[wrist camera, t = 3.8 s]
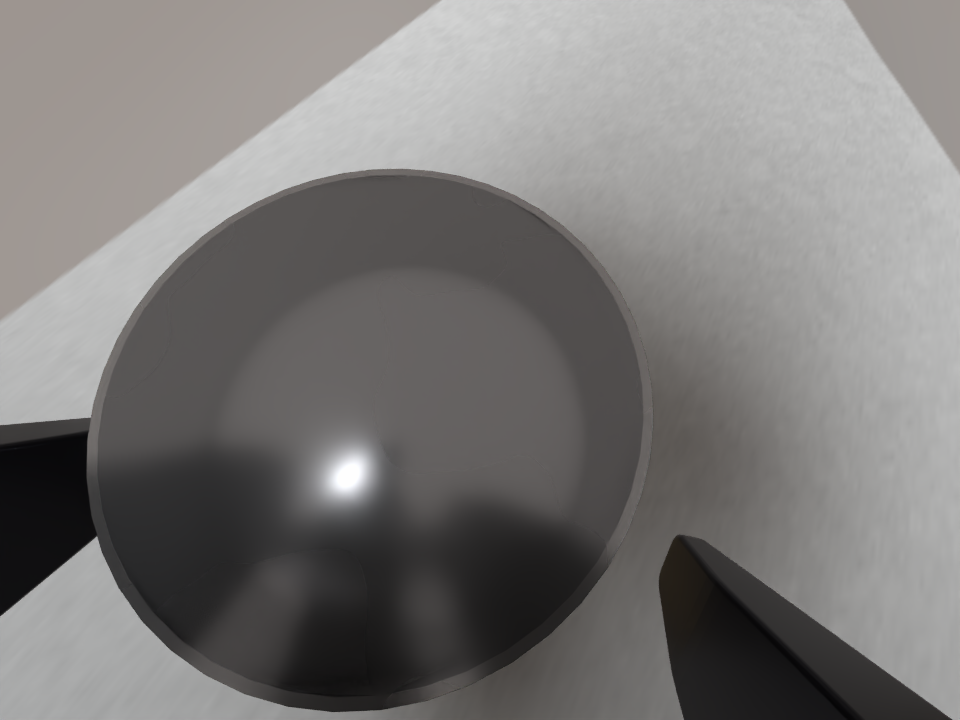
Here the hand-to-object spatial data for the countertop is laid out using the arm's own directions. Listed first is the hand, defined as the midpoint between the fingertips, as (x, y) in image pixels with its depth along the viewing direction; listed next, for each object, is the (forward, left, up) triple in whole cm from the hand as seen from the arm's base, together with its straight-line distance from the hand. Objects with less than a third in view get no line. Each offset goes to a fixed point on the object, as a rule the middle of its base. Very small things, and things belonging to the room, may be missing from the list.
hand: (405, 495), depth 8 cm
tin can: (+1, 0, -9) cm, 9 cm away
